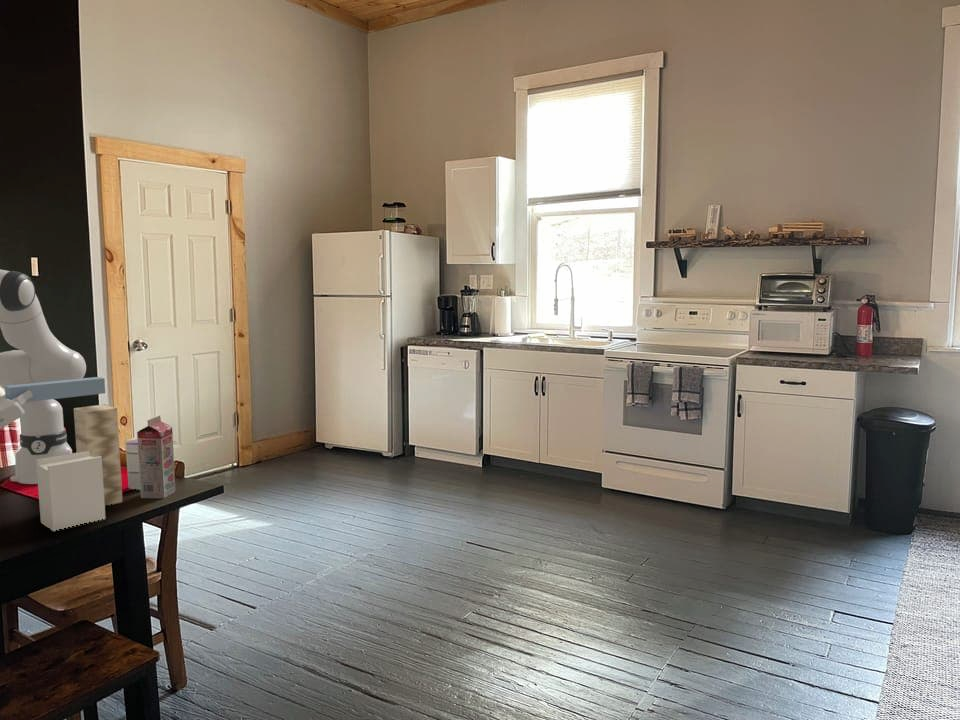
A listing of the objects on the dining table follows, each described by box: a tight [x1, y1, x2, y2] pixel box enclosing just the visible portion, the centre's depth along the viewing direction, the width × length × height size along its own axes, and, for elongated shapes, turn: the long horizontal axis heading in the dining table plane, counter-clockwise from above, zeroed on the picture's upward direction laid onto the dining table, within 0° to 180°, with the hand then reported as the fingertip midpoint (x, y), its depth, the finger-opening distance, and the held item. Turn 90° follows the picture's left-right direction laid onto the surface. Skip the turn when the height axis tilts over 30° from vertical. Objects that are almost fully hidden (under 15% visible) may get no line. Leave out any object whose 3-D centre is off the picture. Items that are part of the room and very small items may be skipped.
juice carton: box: [136, 415, 176, 499], centre depth 204 cm, size 7×7×22 cm
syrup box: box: [124, 436, 140, 491], centre depth 211 cm, size 6×6×14 cm
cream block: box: [36, 451, 106, 532], centre depth 183 cm, size 12×9×16 cm
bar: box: [4, 376, 106, 402], centre depth 188 cm, size 22×4×4 cm, turn 138°
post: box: [73, 404, 123, 507], centre depth 197 cm, size 8×8×26 cm
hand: (27, 391), depth 183 cm, fingers closed on bar, 4 cm apart
